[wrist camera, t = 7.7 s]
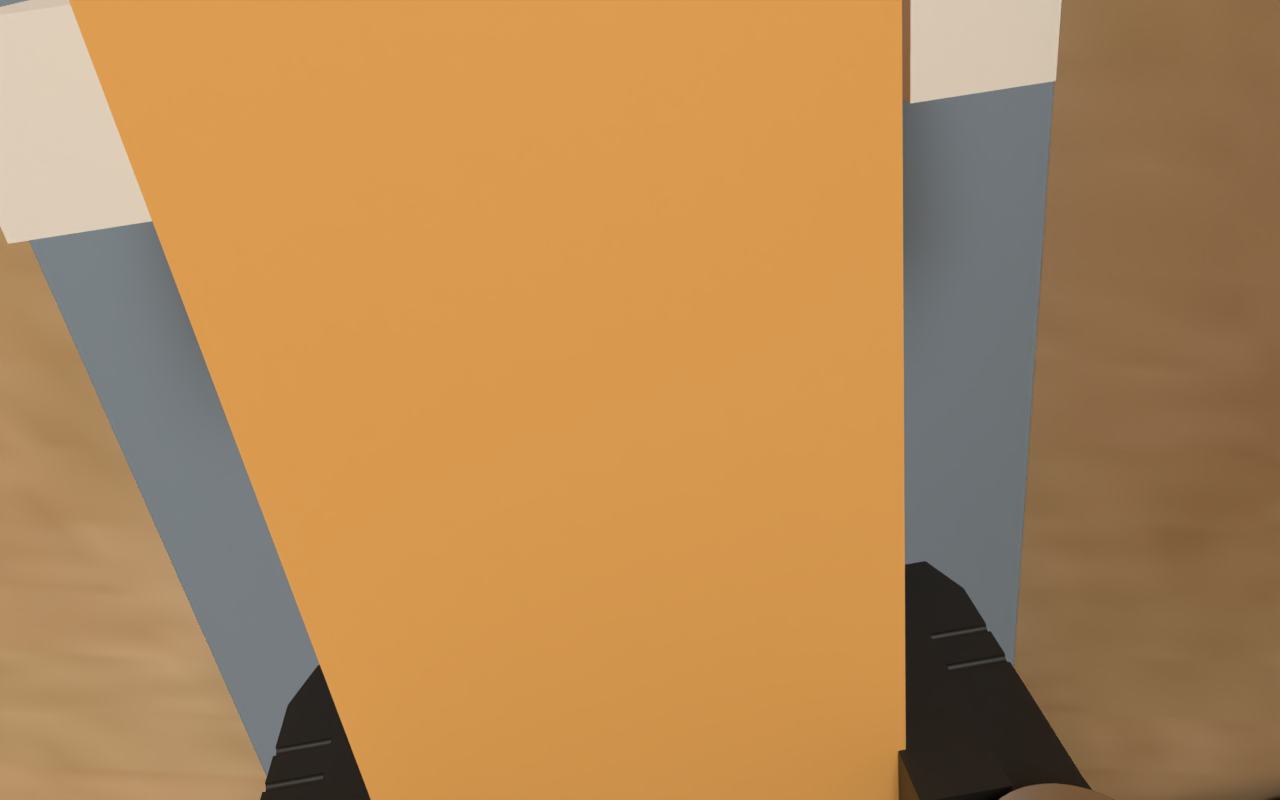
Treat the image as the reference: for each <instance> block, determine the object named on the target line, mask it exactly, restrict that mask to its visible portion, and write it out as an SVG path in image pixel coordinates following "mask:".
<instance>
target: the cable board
mask: <svg viewBox="0 0 1280 800" xmlns="http://www.w3.org/2000/svg"><path fill="white" fill-rule="evenodd" d="M1061 1H1062V0H902V115H903V309H904V504H905V564H911V563H917V562H923V561H926V562H928V563H929V564H930V565H932V566H933V567H935V568H936V569H937V570H939V571H940V572H942V573H943V574H944V575H946V576H947V577H949V578H950V579H951V580H953V581H954V582H956V583H957V584H958V585H960V586H961V587H963V588H964V589H965V591H966V593H967V594H968V596H969V597H970V599H971V601H972V602H973V604H974V605H975V607H976V609H977V610H978V612H979V613H980V615H981V617H982V618H983V620H984V621H985V623H986V627H987V630H988V632H989V631H991V632H992V634H993V636H994V637H995V639H996V640H997V642H998V644H999V645H1000V647H1001V648H1002V650H1003V651H1004V653H1005V658H1006V661H1007V662H1010V663H1011V664H1012V666H1013V667H1014V654H1015V639H1016V625H1017V611H1018V596H1019V582H1020V567H1021V553H1022V538H1023V524H1024V510H1025V495H1026V481H1027V466H1028V452H1029V437H1030V423H1031V408H1032V394H1033V380H1034V365H1035V351H1036V336H1037V322H1038V307H1039V293H1040V279H1041V264H1042V250H1043V235H1044V221H1045V206H1046V192H1047V178H1048V163H1049V149H1050V134H1051V120H1052V105H1053V91H1054V81H1056V72H1057V58H1058V44H1059V30H1060V15H1061ZM0 227H1V229H2V231H3V233H4V236H5V238H6V240H7V242H8V244H9V243H15V242H22V241H28V240H29V242H30V244H31V246H32V249H33V251H34V253H35V255H36V258H37V260H38V262H39V264H40V267H41V269H42V271H43V274H44V276H45V278H46V280H47V283H48V285H49V287H50V289H51V292H52V294H53V296H54V298H55V301H56V303H57V305H58V307H59V310H60V312H61V314H62V316H63V319H64V321H65V323H66V325H67V328H68V330H69V332H70V334H71V337H72V339H73V341H74V343H75V346H76V348H77V350H78V352H79V355H80V357H81V359H82V361H83V364H84V366H85V368H86V370H87V373H88V375H89V377H90V379H91V382H92V384H93V386H94V388H95V391H96V393H97V395H98V397H99V400H100V402H101V404H102V406H103V409H104V411H105V413H106V415H107V418H108V420H109V422H110V424H111V427H112V429H113V431H114V433H115V436H116V438H117V440H118V442H119V445H120V447H121V449H122V451H123V454H124V456H125V458H126V461H127V463H128V465H129V467H130V470H131V472H132V474H133V476H134V479H135V481H136V483H137V485H138V488H139V490H140V492H141V494H142V497H143V499H144V501H145V503H146V506H147V508H148V510H149V512H150V515H151V517H152V519H153V521H154V524H155V526H156V528H157V530H158V533H159V535H160V537H161V539H162V542H163V544H164V546H165V548H166V551H167V553H168V555H169V557H170V560H171V562H172V564H173V566H174V569H175V571H176V573H177V575H178V578H179V580H180V582H181V584H182V587H183V589H184V591H185V593H186V596H187V598H188V600H189V602H190V605H191V607H192V609H193V611H194V614H195V616H196V618H197V620H198V623H199V625H200V627H201V629H202V632H203V634H204V636H205V638H206V641H207V643H208V645H209V648H210V650H211V652H212V654H213V657H214V659H215V661H216V663H217V666H218V668H219V670H220V672H221V675H222V677H223V679H224V681H225V684H226V686H227V688H228V690H229V693H230V695H231V697H232V699H233V702H234V704H235V706H236V708H237V711H238V713H239V715H240V717H241V720H242V722H243V724H244V726H245V729H246V731H247V733H248V735H249V738H250V740H251V742H252V744H253V747H254V749H255V751H256V753H257V756H258V758H259V760H260V762H261V765H262V767H263V769H264V771H265V774H266V776H267V775H268V772H269V768H270V765H271V761H272V758H273V756H276V748H275V747H276V744H277V740H278V737H279V733H280V730H281V727H282V723H283V720H284V716H285V713H286V709H287V706H288V704H289V703H290V701H291V700H292V699H293V697H294V696H295V695H296V693H297V692H298V691H299V689H300V688H301V687H302V686H303V684H304V683H305V682H306V680H307V679H308V678H309V676H310V675H311V674H312V672H313V671H314V670H315V668H316V667H317V666H318V665H320V664H319V661H318V659H317V656H316V653H315V651H314V648H313V645H312V643H311V640H310V637H309V635H308V632H307V629H306V627H305V624H304V622H303V619H302V616H301V614H300V611H299V608H298V606H297V603H296V600H295V598H294V595H293V592H292V590H291V587H290V584H289V582H288V579H287V577H286V574H285V571H284V569H283V566H282V563H281V561H280V558H279V555H278V553H277V550H276V547H275V545H274V542H273V539H272V537H271V534H270V532H269V529H268V526H267V524H266V521H265V518H264V516H263V513H262V510H261V508H260V505H259V502H258V500H257V497H256V494H255V492H254V489H253V487H252V484H251V481H250V479H249V476H248V473H247V471H246V468H245V465H244V463H243V460H242V457H241V455H240V452H239V449H238V447H237V444H236V441H235V439H234V436H233V434H232V431H231V428H230V426H229V423H228V420H227V418H226V415H225V412H224V410H223V407H222V404H221V402H220V399H219V396H218V394H217V391H216V389H215V386H214V383H213V381H212V378H211V375H210V373H209V370H208V367H207V365H206V362H205V359H204V357H203V354H202V351H201V349H200V346H199V344H198V341H197V338H196V336H195V333H194V330H193V328H192V325H191V322H190V320H189V317H188V314H187V312H186V309H185V306H184V304H183V301H182V299H181V296H180V293H179V291H178V288H177V285H176V283H175V280H174V277H173V275H172V272H171V269H170V267H169V264H168V261H167V259H166V256H165V253H164V251H163V248H162V246H161V243H160V240H159V238H158V235H157V232H156V230H155V227H154V224H153V222H152V219H151V216H150V214H149V211H148V208H147V206H146V203H145V201H144V198H143V195H142V193H141V190H140V187H139V185H138V182H137V179H136V177H135V174H134V171H133V169H132V166H131V163H130V161H129V158H128V156H127V153H126V150H125V148H124V145H123V142H122V140H121V137H120V134H119V132H118V129H117V126H116V124H115V121H114V118H113V116H112V113H111V111H110V108H109V105H108V103H107V100H106V97H105V95H104V92H103V89H102V87H101V84H100V81H99V79H98V76H97V73H96V71H95V68H94V65H93V63H92V60H91V58H90V55H89V52H88V50H87V47H86V44H85V42H84V39H83V36H82V34H81V31H80V28H79V26H78V23H77V20H76V18H75V15H74V13H73V10H72V7H71V5H70V2H69V0H0Z"/></svg>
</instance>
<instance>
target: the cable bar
mask: <svg viewBox="0 0 1280 800" xmlns="http://www.w3.org/2000/svg"><path fill="white" fill-rule="evenodd" d="M69 2H70V5H71V7H72V10H73V13H74V15H75V18H76V20H77V23H78V26H79V28H80V31H81V34H82V36H83V39H84V42H85V44H86V47H87V50H88V52H89V55H90V58H91V60H92V63H93V65H94V68H95V71H96V73H97V76H98V79H99V81H100V84H101V87H102V89H103V92H104V95H105V97H106V100H107V103H108V105H109V108H110V111H111V113H112V116H113V118H114V121H115V124H116V126H117V129H118V132H119V134H120V137H121V140H122V142H123V145H124V148H125V150H126V153H127V156H128V158H129V161H130V163H131V166H132V169H133V171H134V174H135V177H136V179H137V182H138V185H139V187H140V190H141V193H142V195H143V198H144V201H145V203H146V206H147V208H148V211H149V214H150V216H151V219H152V222H153V224H154V227H155V230H156V232H157V235H158V238H159V240H160V243H161V246H162V248H163V251H164V253H165V256H166V259H167V261H168V264H169V267H170V269H171V272H172V275H173V277H174V280H175V283H176V285H177V288H178V291H179V293H180V296H181V299H182V301H183V304H184V306H185V309H186V312H187V314H188V317H189V320H190V322H191V325H192V328H193V330H194V333H195V336H196V338H197V341H198V344H199V346H200V349H201V351H202V354H203V357H204V359H205V362H206V365H207V367H208V370H209V373H210V375H211V378H212V381H213V383H214V386H215V389H216V391H217V394H218V396H219V399H220V402H221V404H222V407H223V410H224V412H225V415H226V418H227V420H228V423H229V426H230V428H231V431H232V434H233V436H234V439H235V441H236V444H237V447H238V449H239V452H240V455H241V457H242V460H243V463H244V465H245V468H246V471H247V473H248V476H249V479H250V481H251V484H252V487H253V489H254V492H255V494H256V497H257V500H258V502H259V505H260V508H261V510H262V513H263V516H264V518H265V521H266V524H267V526H268V529H269V532H270V534H271V537H272V539H273V542H274V545H275V547H276V550H277V553H278V555H279V558H280V561H281V563H282V566H283V569H284V571H285V574H286V577H287V579H288V582H289V584H290V587H291V590H292V592H293V595H294V598H295V600H296V603H297V606H298V608H299V611H300V614H301V616H302V619H303V622H304V624H305V627H306V629H307V632H308V635H309V637H310V640H311V643H312V645H313V648H314V651H315V653H316V656H317V659H318V661H319V664H320V667H321V669H322V672H323V675H324V677H325V680H326V682H327V685H328V688H329V690H330V693H331V696H332V698H333V701H334V704H335V706H336V709H337V712H338V714H339V717H340V720H341V722H342V725H343V727H344V730H345V733H346V735H347V738H348V741H349V743H350V746H351V749H352V751H353V754H354V757H355V759H356V762H357V765H358V767H359V770H360V772H361V775H362V778H363V780H364V783H365V786H366V788H367V791H368V794H369V796H370V799H371V800H899V786H898V751H900V750H906V698H905V504H904V309H903V115H902V0H69Z"/></svg>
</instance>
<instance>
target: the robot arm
mask: <svg viewBox="0 0 1280 800" xmlns="http://www.w3.org/2000/svg"><path fill="white" fill-rule="evenodd" d="M905 698H906V750H900V751H898V786H899V800H1114V799H1112V798H1110V797H1108V796H1105V795H1103V794H1101V793H1098V792H1095V791H1093V790H1092V789H1091V788H1090V786H1089V785H1088V784H1087V782H1086V781H1085V780H1084V778H1083V777H1082V775H1081V774H1080V772H1079V771H1078V769H1077V767H1076V766H1075V764H1074V763H1073V761H1072V759H1071V758H1070V756H1069V755H1068V753H1067V752H1066V750H1065V748H1064V747H1063V745H1062V744H1061V742H1060V740H1059V739H1058V737H1057V736H1056V734H1055V732H1054V731H1053V729H1052V728H1051V726H1050V725H1049V723H1048V721H1047V720H1046V718H1045V717H1044V715H1043V713H1042V712H1041V710H1040V709H1039V707H1038V705H1037V704H1036V702H1035V701H1034V699H1033V698H1032V696H1031V694H1030V693H1029V691H1028V690H1027V688H1026V686H1025V685H1024V683H1023V682H1022V680H1021V678H1020V677H1019V675H1018V674H1017V672H1016V671H1015V669H1014V667H1013V666H1012V664H1011V663H1010V662H1007V661H1006V658H1005V653H1004V651H1003V650H1002V648H1001V647H1000V645H999V644H998V642H997V640H996V639H995V637H994V636H993V634H992V632H991V631H989V632H988V630H987V627H986V623H985V621H984V620H983V618H982V617H981V615H980V613H979V612H978V610H977V609H976V607H975V605H974V604H973V602H972V601H971V599H970V597H969V596H968V594H967V593H966V591H965V589H964V588H963V587H961V586H960V585H958V584H957V583H956V582H954V581H953V580H951V579H950V578H949V577H947V576H946V575H944V574H943V573H942V572H940V571H939V570H937V569H936V568H935V567H933V566H932V565H930V564H929V563H928V562H926V561H923V562H917V563H911V564H905ZM275 748H276V756H273V758H272V761H271V765H270V768H269V772H268V775H267V778H266V782H265V784H266V792H262V796H261V799H260V800H371V799H370V796H369V794H368V791H367V788H366V786H365V783H364V780H363V778H362V775H361V772H360V770H359V767H358V765H357V762H356V759H355V757H354V754H353V751H352V749H351V746H350V743H349V741H348V738H347V735H346V733H345V730H344V727H343V725H342V722H341V720H340V717H339V714H338V712H337V709H336V706H335V704H334V701H333V698H332V696H331V693H330V690H329V688H328V685H327V682H326V680H325V677H324V675H323V672H322V669H321V667H320V665H318V666H317V667H316V668H315V670H314V671H313V672H312V674H311V675H310V676H309V678H308V679H307V680H306V682H305V683H304V684H303V686H302V687H301V688H300V689H299V691H298V692H297V693H296V695H295V696H294V697H293V699H292V700H291V701H290V703H289V704H288V706H287V709H286V713H285V716H284V720H283V723H282V727H281V730H280V733H279V737H278V740H277V744H276V747H275Z"/></svg>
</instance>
